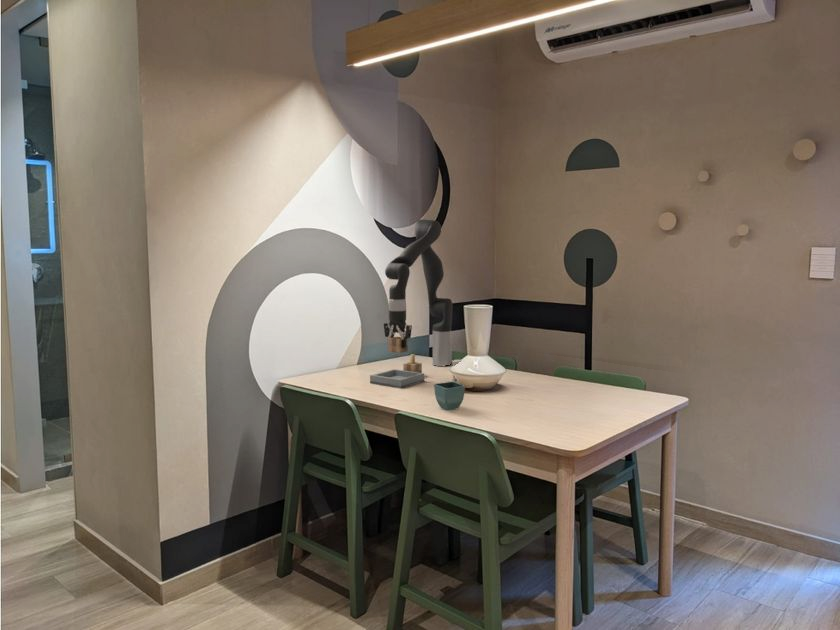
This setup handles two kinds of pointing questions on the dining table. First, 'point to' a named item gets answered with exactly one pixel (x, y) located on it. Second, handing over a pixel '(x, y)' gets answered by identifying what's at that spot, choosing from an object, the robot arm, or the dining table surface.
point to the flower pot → (449, 394)
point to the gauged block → (412, 365)
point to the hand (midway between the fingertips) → (397, 347)
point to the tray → (397, 378)
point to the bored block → (397, 345)
